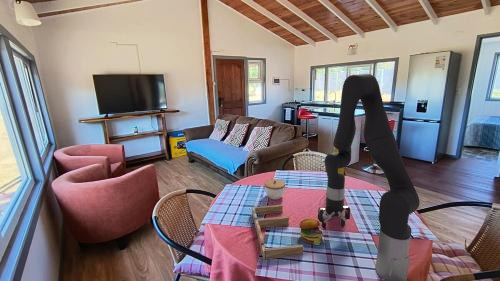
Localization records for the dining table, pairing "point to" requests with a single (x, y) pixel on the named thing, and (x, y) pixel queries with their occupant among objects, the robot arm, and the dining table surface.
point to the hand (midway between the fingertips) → (333, 227)
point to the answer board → (272, 222)
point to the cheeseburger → (311, 231)
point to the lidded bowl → (275, 188)
